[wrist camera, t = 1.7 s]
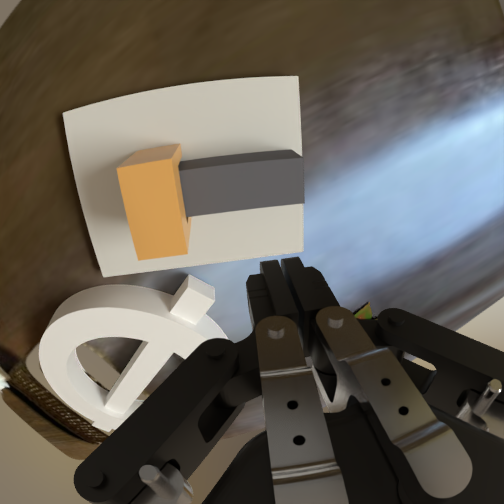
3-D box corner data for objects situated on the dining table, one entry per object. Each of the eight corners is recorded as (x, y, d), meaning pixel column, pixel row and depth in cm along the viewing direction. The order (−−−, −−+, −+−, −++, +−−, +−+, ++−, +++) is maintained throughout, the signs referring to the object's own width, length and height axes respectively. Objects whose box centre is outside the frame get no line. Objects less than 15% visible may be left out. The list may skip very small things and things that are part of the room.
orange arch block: (137, 150, 26) (116, 168, 20) (180, 143, 26) (171, 158, 20) (151, 224, 29) (138, 260, 23) (191, 219, 30) (187, 254, 24)
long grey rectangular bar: (141, 167, 27) (131, 178, 23) (291, 149, 28) (303, 157, 25) (148, 207, 29) (140, 223, 25) (292, 189, 30) (304, 203, 26)
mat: (69, 111, 24) (62, 112, 23) (293, 76, 26) (298, 76, 25) (106, 270, 33) (103, 277, 32) (299, 245, 35) (303, 251, 33)
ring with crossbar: (210, 263, 35) (211, 287, 31) (248, 403, 48) (252, 426, 44) (18, 299, 34) (4, 320, 29) (100, 416, 47) (97, 437, 43)
